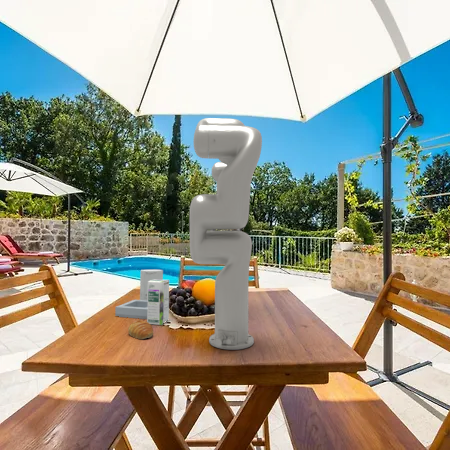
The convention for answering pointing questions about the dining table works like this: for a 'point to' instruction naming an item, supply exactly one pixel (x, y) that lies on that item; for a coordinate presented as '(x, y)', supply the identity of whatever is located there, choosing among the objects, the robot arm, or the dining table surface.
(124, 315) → the socket block
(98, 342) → the dining table surface
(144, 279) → the skincare box
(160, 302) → the syrup box
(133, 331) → the pastry
